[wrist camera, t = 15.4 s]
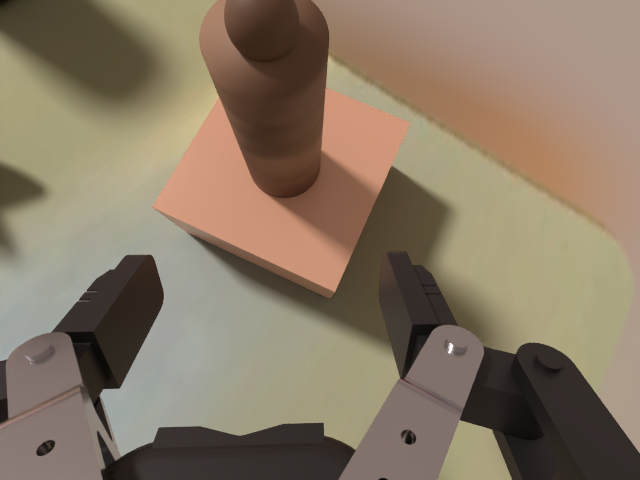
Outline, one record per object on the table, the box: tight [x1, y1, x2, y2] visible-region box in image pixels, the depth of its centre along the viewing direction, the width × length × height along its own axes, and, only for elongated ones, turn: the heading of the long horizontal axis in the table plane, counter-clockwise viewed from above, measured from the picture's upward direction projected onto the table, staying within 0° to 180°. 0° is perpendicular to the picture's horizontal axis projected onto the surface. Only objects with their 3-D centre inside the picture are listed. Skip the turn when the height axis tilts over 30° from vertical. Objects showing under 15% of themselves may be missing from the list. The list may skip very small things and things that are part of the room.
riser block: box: [152, 88, 410, 299], centre depth 24 cm, size 12×12×6 cm
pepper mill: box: [199, 0, 329, 198], centre depth 16 cm, size 4×4×12 cm
